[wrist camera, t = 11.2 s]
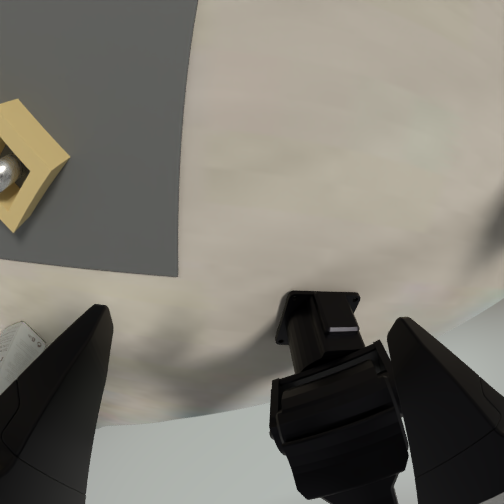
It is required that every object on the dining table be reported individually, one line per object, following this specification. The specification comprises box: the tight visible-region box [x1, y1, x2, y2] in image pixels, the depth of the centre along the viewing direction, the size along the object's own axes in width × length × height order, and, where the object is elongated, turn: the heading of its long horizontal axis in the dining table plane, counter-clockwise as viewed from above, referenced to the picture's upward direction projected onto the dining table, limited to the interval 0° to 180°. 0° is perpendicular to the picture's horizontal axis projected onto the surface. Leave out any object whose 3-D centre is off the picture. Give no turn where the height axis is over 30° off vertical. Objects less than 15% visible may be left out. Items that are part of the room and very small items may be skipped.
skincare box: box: [0, 322, 46, 395], centre depth 21 cm, size 6×4×12 cm
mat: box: [0, 0, 198, 277], centre depth 14 cm, size 24×25×1 cm
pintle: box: [0, 152, 29, 193], centre depth 14 cm, size 2×2×3 cm
